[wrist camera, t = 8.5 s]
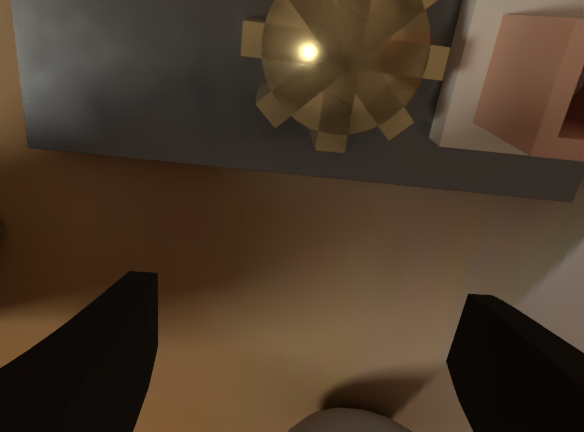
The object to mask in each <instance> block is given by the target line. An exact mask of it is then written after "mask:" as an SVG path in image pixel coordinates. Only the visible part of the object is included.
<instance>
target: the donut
mask: <svg viewBox="0 0 584 432" xmlns="http://www.w3.org/2000/svg"><path fill="white" fill-rule="evenodd" d="M288 432H412V431H410V430H409V429H407V428H405V427H403V426H402V425H400V424H398V423H397V422H395V421H393V420H392V419H390V418H388V417H385V416H382V415H379V414H376V413H373V412H370V411H367V410H363V409H352V408H340V407H336V408H331V409H327V410H323V411H318V412H315V413H313V414H311V415H309V416H307V417H306V418H305V419H303V420H302V421H300V422H299V423H298V424H296V425H295V426H293V427H292V428H291V429H290V430H289V431H288Z"/></svg>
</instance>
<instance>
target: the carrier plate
mask: <svg viewBox="0 0 584 432" xmlns="http://www.w3.org/2000/svg"><path fill="white" fill-rule="evenodd" d="M461 4H462V0H11V7H12V16H13V24H14V32H15V41H16V49H17V58H18V66H19V75H20V83H21V92H22V100H23V109H24V117H25V126H26V134H27V143H28V148H35V149H45V150H55V151H65V152H75V153H85V154H95V155H105V156H115V157H125V158H135V159H145V160H155V161H165V162H175V163H185V164H195V165H205V166H215V167H225V168H235V169H245V170H255V171H265V172H275V173H285V174H295V175H305V176H315V177H325V178H335V179H345V180H355V181H365V182H375V183H385V184H395V185H405V186H415V187H425V188H435V189H445V190H455V191H465V192H475V193H485V194H495V195H505V196H515V197H525V198H535V199H545V200H555V201H565V202H572V200H573V198H574V195H575V193H576V190H577V188H578V185H579V183H580V180H581V178H582V175H583V173H584V162H583V161H573V160H563V159H553V158H544V157H534V156H527V155H517V154H508V153H498V152H488V151H478V150H469V149H459V148H449V147H439V146H438V145H437V144H436V143H435V142H433V141H432V140H431V139H430V138H429V135H430V131H431V127H432V123H433V119H434V115H435V111H436V107H437V103H438V98H439V94H440V90H441V86H442V82H443V78H444V74H445V70H446V66H447V62H448V58H449V54H450V49H451V45H452V41H453V37H454V33H455V29H456V25H457V21H458V17H459V13H460V9H461ZM583 84H584V70H583V69H582V71H581V74H580V77H579V80H578V82H577V85H576V88H575V91H574V93H573V95H574V94H576V93H577V92H578V91H579V90H580V89H581V88H582V86H583Z"/></svg>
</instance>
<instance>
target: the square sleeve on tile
mask: <svg viewBox="0 0 584 432" xmlns="http://www.w3.org/2000/svg"><path fill="white" fill-rule="evenodd" d="M582 69H583V70H584V0H462V4H461V9H460V13H459V17H458V21H457V25H456V29H455V33H454V37H453V41H452V45H451V49H450V54H449V58H448V62H447V66H446V70H445V74H444V78H443V82H442V86H441V90H440V94H439V98H438V103H437V107H436V111H435V115H434V119H433V123H432V127H431V131H430V135H429V138H430V139H431V140H432V141H433V142H435V143H436V144H437V145H438V146H439V147H449V148H459V149H469V150H478V151H488V152H498V153H508V154H517V155H527V156H534V157H544V158H553V159H563V160H573V161H583V162H584V84H583V86H582V88H581V89H580V90H579V91H578V92H577V93H576V94H574V95H573V93H574V91H575V88H576V85H577V82H578V80H579V77H580V74H581V71H582Z"/></svg>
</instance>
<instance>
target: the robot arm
mask: <svg viewBox="0 0 584 432" xmlns="http://www.w3.org/2000/svg"><path fill="white" fill-rule="evenodd" d="M0 232H1V227H0ZM157 348H158V273H150V272H135V271H129V272H128V273H127V274H125V275H124V276H123V277H122V278H120V279H119V280H118V281H117V282H115V283H114V284H113V285H112V286H111V287H109V288H108V289H107V290H106V291H105V292H103V293H102V294H101V295H100V296H99V297H98V298H96V299H95V300H94V301H93V302H92V303H90V304H89V305H88V306H87V307H85V308H84V309H83V310H82V311H80V312H79V313H78V314H77V315H75V316H74V317H73V318H71V319H70V320H69V321H68V322H66V323H65V324H64V325H63V326H61V327H60V328H58V329H57V330H56V331H54V332H53V333H52V334H50V335H49V336H47V337H46V338H45V339H43V340H42V341H40V342H39V343H38V344H36V345H35V346H33V347H32V348H31V349H29V350H28V351H26V352H25V353H23V354H22V355H20V356H19V357H17V358H16V359H14V360H13V361H11V362H9V363H8V364H6V365H5V366H3V367H1V368H0V432H133V430H134V427H135V425H136V422H137V419H138V416H139V413H140V411H141V408H142V405H143V402H144V399H145V396H146V394H147V391H148V388H149V384H150V379H151V375H152V371H153V366H154V362H155V357H156V353H157ZM446 362H447V365H448V369H449V372H450V375H451V379H452V382H453V385H454V388H455V391H456V394H457V397H458V399H459V402H460V404H461V406H462V409H463V411H464V413H465V415H466V417H467V419H468V421H469V423H470V425H471V428H472V430H473V432H584V353H583V352H581V351H580V350H578V349H577V348H575V347H574V346H572V345H570V344H569V343H567V342H566V341H564V340H563V339H561V338H560V337H558V336H557V335H555V334H554V333H552V332H551V331H549V330H548V329H546V328H544V327H543V326H542V325H540V324H539V323H537V322H536V321H534V320H532V319H531V318H530V317H528V316H526V315H525V314H523V313H522V312H520V311H519V310H517V309H516V308H514V307H512V306H511V305H509V304H507V303H506V302H504V301H502V300H500V299H499V298H497V297H495V296H493V295H479V294H468V296H467V299H466V302H465V305H464V308H463V311H462V314H461V317H460V321H459V324H458V327H457V330H456V333H455V336H454V339H453V342H452V345H451V348H450V351H449V354H448V357H447V360H446Z"/></svg>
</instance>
